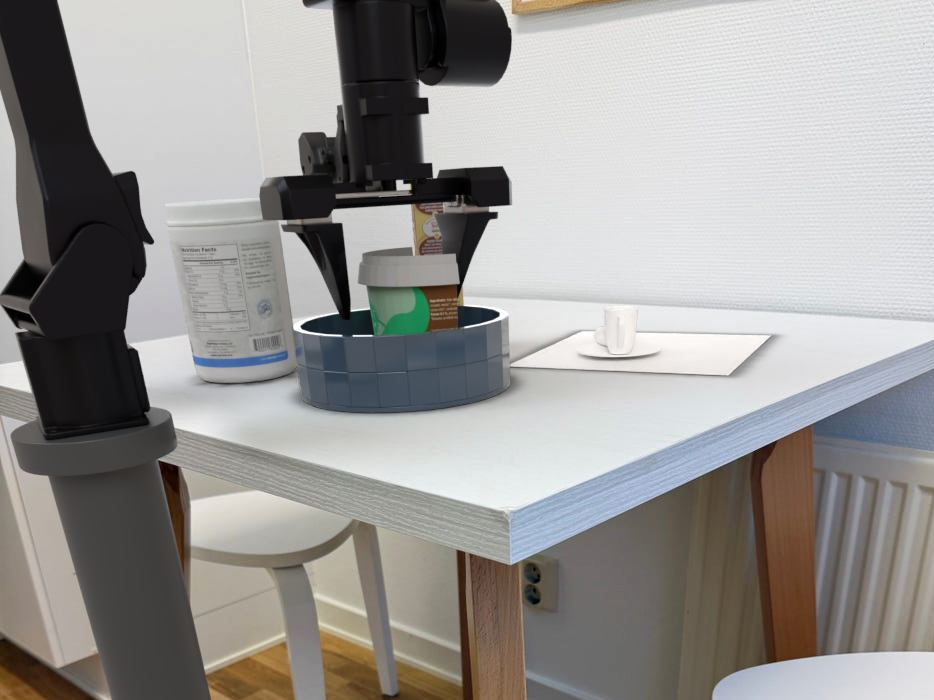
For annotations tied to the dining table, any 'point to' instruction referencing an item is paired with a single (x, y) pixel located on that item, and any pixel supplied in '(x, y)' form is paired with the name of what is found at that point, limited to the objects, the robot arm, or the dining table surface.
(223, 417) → the dining table surface
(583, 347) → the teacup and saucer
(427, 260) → the food container
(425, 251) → the candy box
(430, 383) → the pot
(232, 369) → the supplement tub
